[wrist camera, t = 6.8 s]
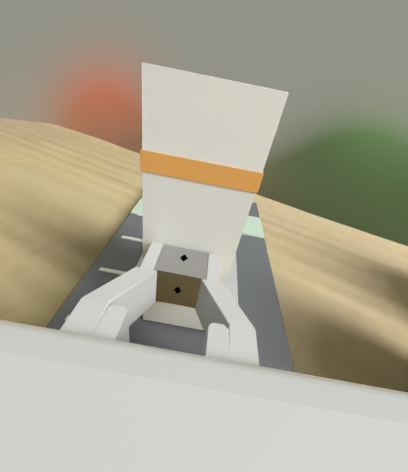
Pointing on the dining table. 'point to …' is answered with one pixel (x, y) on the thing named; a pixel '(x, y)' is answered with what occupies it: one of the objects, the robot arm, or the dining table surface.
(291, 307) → the dining table surface
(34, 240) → the dining table surface
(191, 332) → the grey slider track base
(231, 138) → the fader
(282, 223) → the dining table surface
